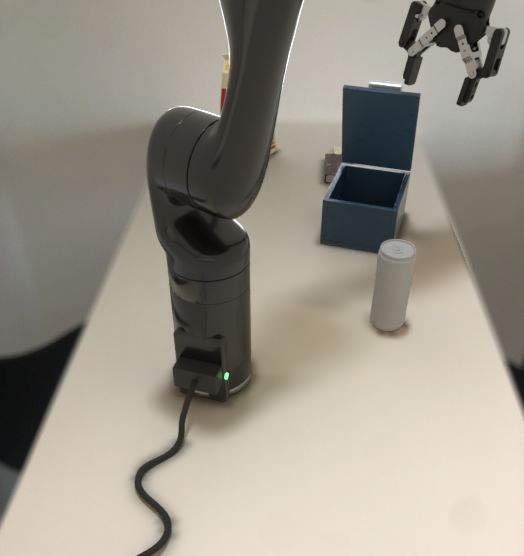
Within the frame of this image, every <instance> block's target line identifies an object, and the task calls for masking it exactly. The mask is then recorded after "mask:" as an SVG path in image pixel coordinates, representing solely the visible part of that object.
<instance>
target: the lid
mask: <svg viewBox="0 0 524 556" xmlns="http://www.w3.org/2000/svg"><path fill="white" fill-rule="evenodd" d="M403 85H404V82H394V81H385V80H376V79H370V80H369V81H368V86H358V85H349V84H343V85H342V96H341V97H342V100H341V101H342V105H341V106H342V108H341V110H342V111H341V116H342V117H341V147H342V162H347V163H353V165H361V166H368V167H375V168H382V169H390V170H397V171H404V172H411V171H412V169H413V168H412V166H413V159H414V151H415V143H416V136H417V127H418V121H419V120H418V119H419V111H420V105H421V96H422V93H421V92H412V91H403Z"/></svg>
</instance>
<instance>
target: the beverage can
mask: <svg viewBox="0 0 524 556" xmlns="http://www.w3.org/2000/svg"><path fill="white" fill-rule="evenodd" d="M416 261H417V247H416V245H414V244H413V243H412V242H410V241H408V240H405V239H399V238H396V239H391V240H387V241H384V242H383V243H382V244H381V246H380V249H379V253H377V261H376V268H375V275H374V277H375V278H374V284H373V291H372V298H371V305H370V313H369V320H370V322H371V324H372V325H373V326H374V327H375V328H376V329H378V330H380V331H384V332H393V331H396V330H399V329H400V328H401V327H402V326H403V325H404V324H405V321H406V315H407V309H408V303H409V298H410V293H411V288H412V284H413V277H414V272H415V267H416V266H415V265H416Z"/></svg>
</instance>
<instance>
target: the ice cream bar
mask: <svg viewBox="0 0 524 556" xmlns="http://www.w3.org/2000/svg"><path fill="white" fill-rule="evenodd" d="M342 163H345V164H352V165H354V163H347V162H342V145H336V146H335V145H334V147H333V153H325V154H324V174H323V178H324V179H323V180H324V181H323V182H324V183H327V184H331V183H332V181H333V179H334V177H335V175H336V173H337V171H338V170H339V168H340V166H341V164H342Z"/></svg>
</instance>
